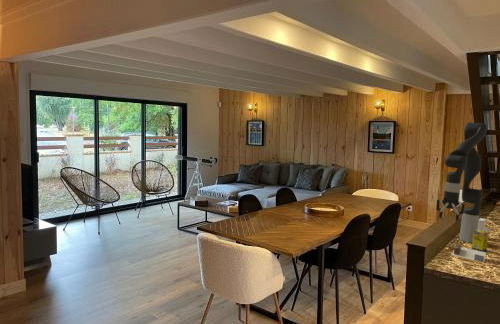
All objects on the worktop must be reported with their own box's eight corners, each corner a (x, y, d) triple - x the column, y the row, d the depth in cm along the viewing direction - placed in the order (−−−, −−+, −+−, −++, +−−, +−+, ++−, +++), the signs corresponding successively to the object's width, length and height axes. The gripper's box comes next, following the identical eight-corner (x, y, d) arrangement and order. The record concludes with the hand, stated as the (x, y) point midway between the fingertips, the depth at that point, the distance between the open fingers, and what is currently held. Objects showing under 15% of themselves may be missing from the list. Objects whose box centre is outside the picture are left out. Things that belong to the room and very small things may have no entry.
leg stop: (474, 258, 194) (475, 254, 194) (483, 260, 192) (484, 256, 192) (474, 259, 193) (474, 255, 192) (483, 261, 190) (483, 257, 190)
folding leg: (458, 255, 199) (459, 248, 198) (453, 253, 200) (454, 247, 200) (460, 249, 210) (461, 242, 210) (456, 248, 211) (456, 242, 211)
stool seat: (455, 248, 216) (455, 246, 215) (485, 255, 207) (485, 252, 207) (451, 257, 198) (451, 255, 198) (484, 265, 190) (484, 262, 190)
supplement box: (482, 251, 213) (484, 233, 212) (471, 248, 218) (473, 230, 217) (486, 250, 217) (489, 232, 216) (475, 247, 222) (478, 229, 221)
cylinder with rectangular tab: (473, 234, 253) (475, 217, 252) (488, 237, 248) (491, 219, 247) (470, 236, 246) (473, 219, 245) (486, 240, 241) (489, 221, 240)
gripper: (467, 192, 207) (463, 221, 208) (438, 188, 215) (435, 216, 216) (466, 193, 201) (462, 223, 202) (437, 189, 209) (433, 218, 210)
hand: (448, 219), depth 209 cm, fingers open, 7 cm apart
